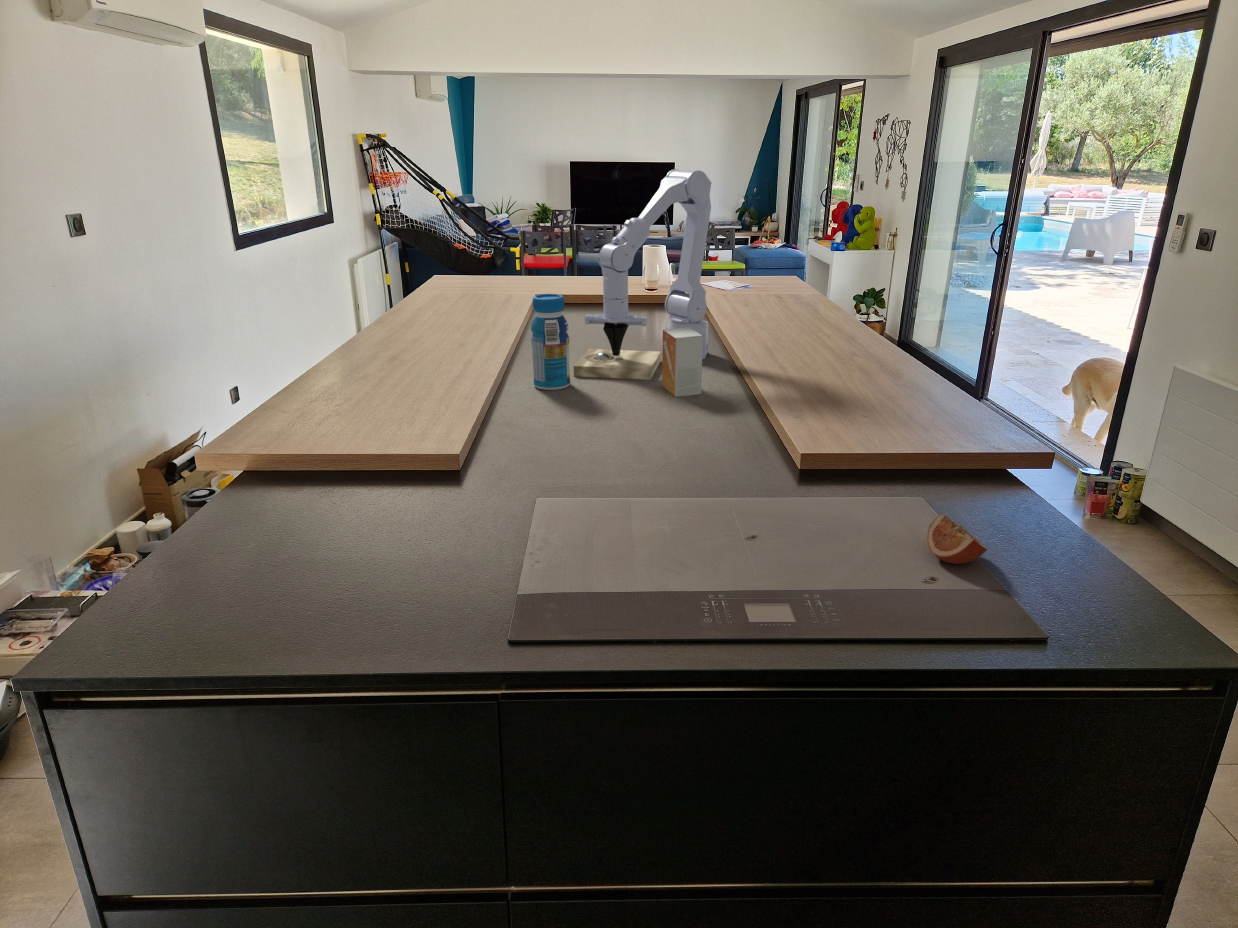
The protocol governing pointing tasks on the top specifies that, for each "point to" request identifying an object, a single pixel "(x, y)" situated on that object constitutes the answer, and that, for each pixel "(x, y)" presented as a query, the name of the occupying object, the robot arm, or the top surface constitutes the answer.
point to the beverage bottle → (550, 343)
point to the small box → (682, 361)
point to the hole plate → (619, 364)
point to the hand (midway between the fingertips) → (616, 354)
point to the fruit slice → (952, 541)
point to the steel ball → (603, 356)
